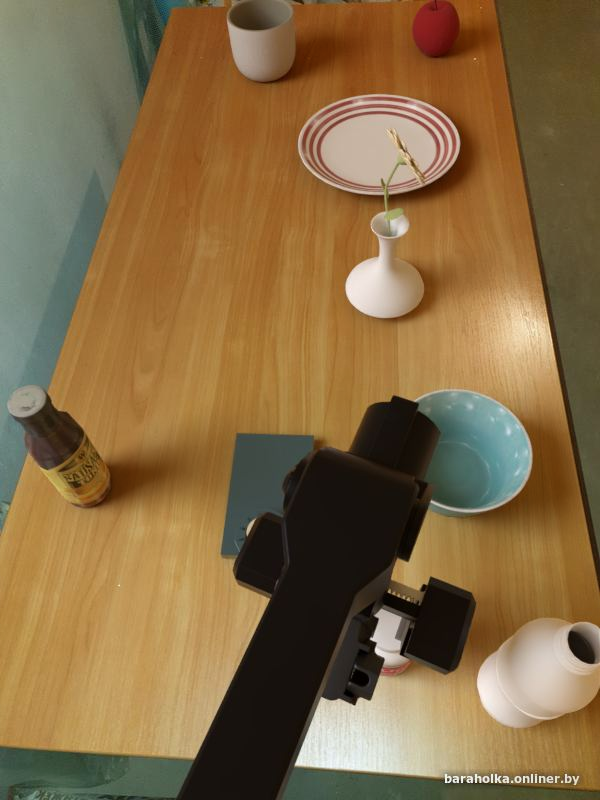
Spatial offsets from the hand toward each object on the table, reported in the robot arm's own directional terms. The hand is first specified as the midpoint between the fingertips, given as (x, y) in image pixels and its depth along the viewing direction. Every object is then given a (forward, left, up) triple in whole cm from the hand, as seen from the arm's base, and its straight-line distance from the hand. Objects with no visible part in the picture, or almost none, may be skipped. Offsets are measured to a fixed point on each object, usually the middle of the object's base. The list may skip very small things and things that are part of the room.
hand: (350, 613), depth 58 cm
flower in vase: (+50, -4, -13) cm, 52 cm away
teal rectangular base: (+16, +10, -13) cm, 23 cm away
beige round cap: (+10, +10, -10) cm, 18 cm away
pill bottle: (0, -4, -13) cm, 14 cm away
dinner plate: (+81, -3, -13) cm, 82 cm away
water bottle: (-4, -16, -13) cm, 21 cm away
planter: (+107, +19, -13) cm, 109 cm away
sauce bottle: (+17, +33, -13) cm, 39 cm away
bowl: (+20, -12, -13) cm, 27 cm away
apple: (+113, -14, -13) cm, 115 cm away
